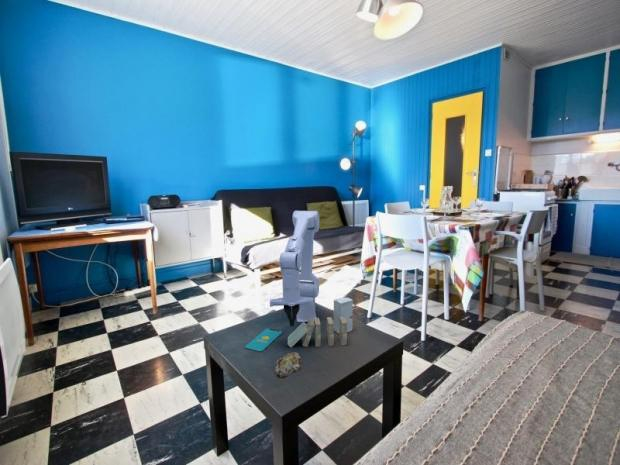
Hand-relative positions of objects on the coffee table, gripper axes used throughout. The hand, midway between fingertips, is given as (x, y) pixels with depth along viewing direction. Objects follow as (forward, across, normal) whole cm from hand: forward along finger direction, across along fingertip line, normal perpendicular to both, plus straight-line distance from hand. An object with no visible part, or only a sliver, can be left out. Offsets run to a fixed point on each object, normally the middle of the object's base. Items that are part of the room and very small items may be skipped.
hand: (292, 325), depth 105 cm
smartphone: (+8, -10, +4) cm, 13 cm away
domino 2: (+7, +4, 0) cm, 8 cm away
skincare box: (+7, +19, +8) cm, 22 cm away
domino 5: (+7, +18, 0) cm, 19 cm away
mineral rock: (+7, -2, -14) cm, 16 cm away
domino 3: (+7, +9, 0) cm, 11 cm away
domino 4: (+7, +13, 0) cm, 15 cm away
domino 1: (+6, -1, 0) cm, 6 cm away
